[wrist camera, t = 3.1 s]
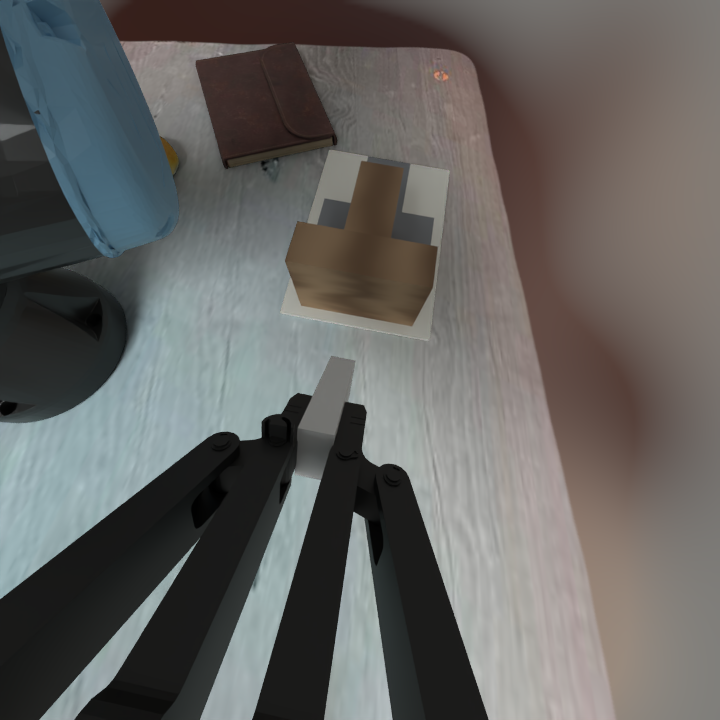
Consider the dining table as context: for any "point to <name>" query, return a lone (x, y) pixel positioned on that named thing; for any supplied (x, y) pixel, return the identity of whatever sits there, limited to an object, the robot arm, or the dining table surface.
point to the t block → (363, 257)
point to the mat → (412, 223)
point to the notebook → (263, 105)
